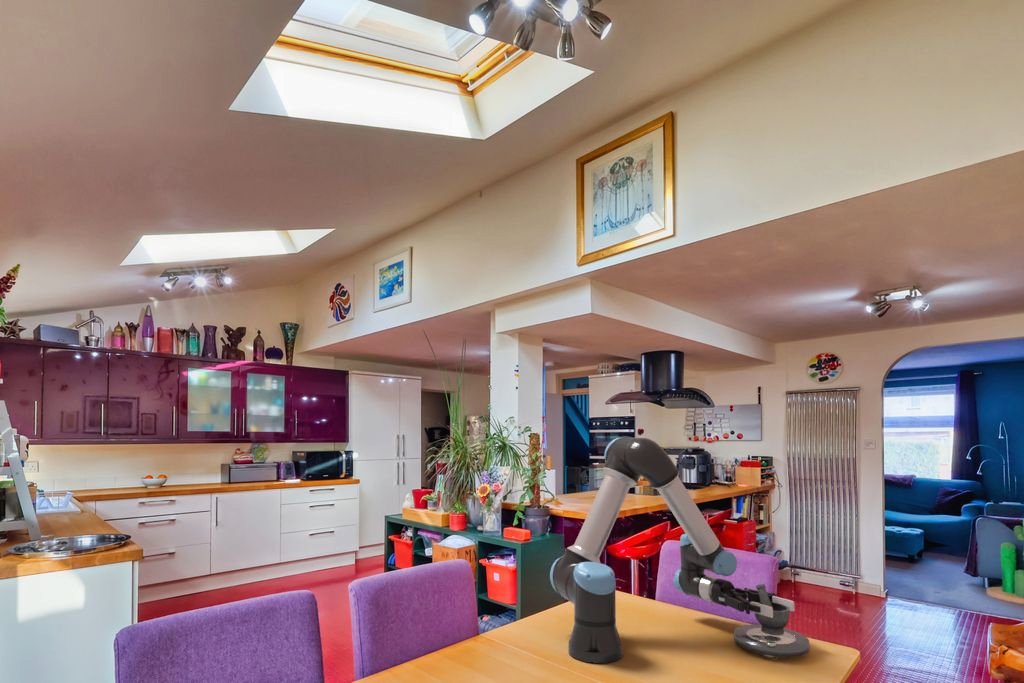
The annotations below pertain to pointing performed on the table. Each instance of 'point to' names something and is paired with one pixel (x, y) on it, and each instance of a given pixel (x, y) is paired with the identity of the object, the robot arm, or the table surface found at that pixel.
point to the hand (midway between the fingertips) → (783, 609)
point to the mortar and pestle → (779, 614)
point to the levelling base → (771, 642)
